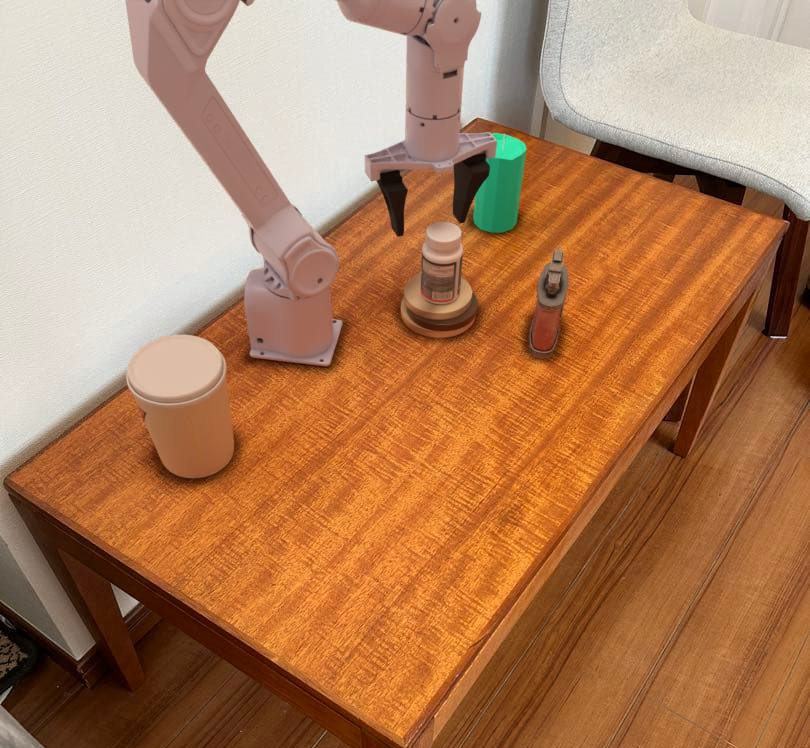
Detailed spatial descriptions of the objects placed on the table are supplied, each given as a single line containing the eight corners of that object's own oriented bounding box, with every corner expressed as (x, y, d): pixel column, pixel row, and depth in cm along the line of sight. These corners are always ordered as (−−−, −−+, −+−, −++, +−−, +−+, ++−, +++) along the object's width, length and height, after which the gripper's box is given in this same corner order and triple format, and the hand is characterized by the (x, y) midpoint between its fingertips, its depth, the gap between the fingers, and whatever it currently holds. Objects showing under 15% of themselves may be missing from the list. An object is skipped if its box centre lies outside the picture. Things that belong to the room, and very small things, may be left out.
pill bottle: (436, 275, 103) (440, 213, 96) (467, 291, 101) (473, 229, 95) (412, 294, 101) (413, 232, 94) (443, 311, 99) (447, 248, 92)
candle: (466, 211, 117) (473, 125, 107) (507, 204, 118) (517, 118, 108) (482, 236, 113) (490, 149, 104) (523, 228, 114) (535, 142, 105)
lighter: (554, 360, 99) (569, 288, 91) (525, 355, 99) (537, 284, 91) (560, 316, 103) (575, 244, 95) (533, 312, 104) (545, 241, 96)
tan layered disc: (394, 333, 101) (395, 312, 99) (406, 286, 107) (407, 265, 104) (472, 342, 100) (474, 321, 98) (480, 294, 106) (482, 273, 103)
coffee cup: (169, 414, 92) (144, 326, 83) (252, 425, 92) (236, 338, 82) (139, 478, 87) (108, 392, 77) (228, 490, 86) (207, 405, 77)
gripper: (380, 137, 83) (381, 257, 94) (514, 112, 86) (500, 231, 97) (356, 103, 87) (360, 222, 98) (485, 81, 90) (475, 199, 101)
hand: (428, 225), depth 98 cm, fingers open, 7 cm apart
